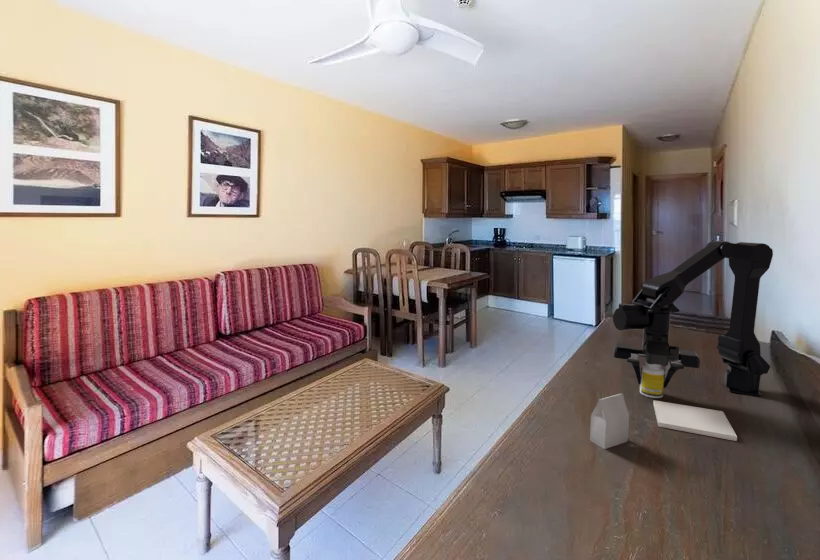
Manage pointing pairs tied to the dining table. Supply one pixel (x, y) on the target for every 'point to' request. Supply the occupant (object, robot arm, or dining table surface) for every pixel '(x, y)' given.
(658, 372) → the supplement bottle
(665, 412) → the ceramic tile
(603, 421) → the milk carton
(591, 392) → the dining table surface
